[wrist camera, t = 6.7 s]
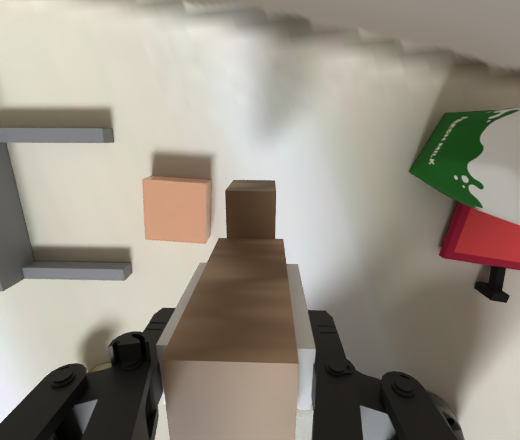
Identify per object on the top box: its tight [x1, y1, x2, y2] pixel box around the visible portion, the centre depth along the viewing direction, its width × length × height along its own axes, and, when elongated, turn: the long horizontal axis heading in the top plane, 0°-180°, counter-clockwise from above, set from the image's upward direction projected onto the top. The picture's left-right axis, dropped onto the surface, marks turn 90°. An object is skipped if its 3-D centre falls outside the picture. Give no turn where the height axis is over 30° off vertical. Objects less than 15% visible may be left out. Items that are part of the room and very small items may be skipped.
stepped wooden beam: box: [160, 180, 299, 440], centre depth 15 cm, size 4×10×14 cm, turn 0°
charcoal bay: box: [0, 128, 132, 291], centre depth 33 cm, size 14×18×5 cm
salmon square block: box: [142, 176, 211, 244], centre depth 33 cm, size 7×7×3 cm
